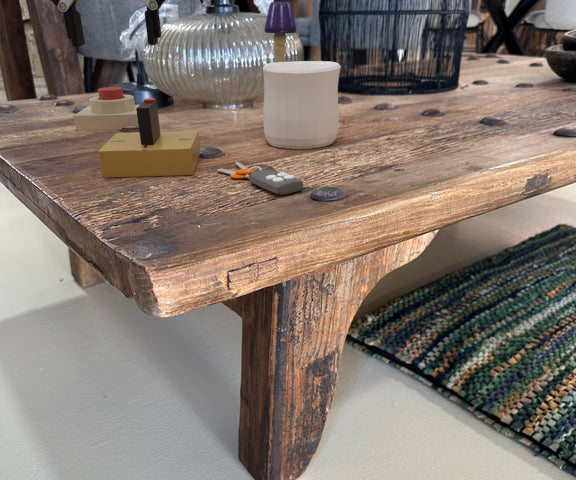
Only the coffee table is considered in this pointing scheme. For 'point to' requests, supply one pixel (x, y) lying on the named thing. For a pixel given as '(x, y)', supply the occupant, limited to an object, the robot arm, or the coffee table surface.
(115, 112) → the box
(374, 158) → the coffee table surface
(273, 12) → the toy lamp
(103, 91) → the release button
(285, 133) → the cup
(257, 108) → the coffee table surface
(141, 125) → the lock turn
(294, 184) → the key chain
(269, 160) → the coffee table surface
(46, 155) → the coffee table surface
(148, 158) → the plate
